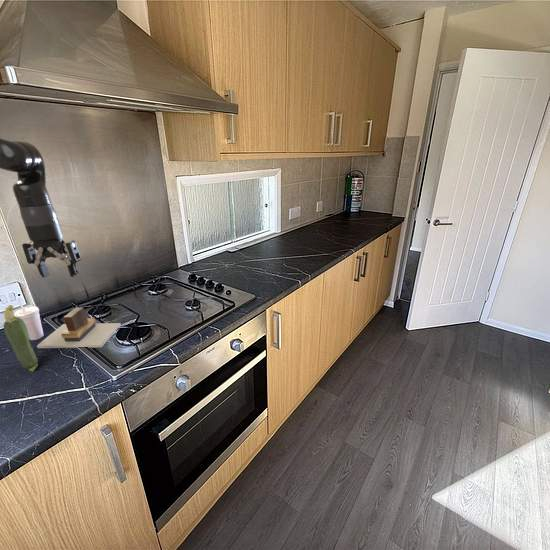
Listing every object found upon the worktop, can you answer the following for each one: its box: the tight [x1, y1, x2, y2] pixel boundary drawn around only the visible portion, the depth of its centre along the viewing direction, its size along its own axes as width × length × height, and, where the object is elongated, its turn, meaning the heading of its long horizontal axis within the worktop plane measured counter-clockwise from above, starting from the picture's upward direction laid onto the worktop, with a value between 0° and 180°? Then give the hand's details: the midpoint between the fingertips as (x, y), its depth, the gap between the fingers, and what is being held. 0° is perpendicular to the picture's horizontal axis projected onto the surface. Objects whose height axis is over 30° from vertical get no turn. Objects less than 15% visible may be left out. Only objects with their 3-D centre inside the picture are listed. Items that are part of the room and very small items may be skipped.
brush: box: [61, 306, 96, 342], centre depth 93 cm, size 9×5×8 cm, turn 179°
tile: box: [36, 322, 122, 349], centre depth 94 cm, size 20×12×1 cm, turn 89°
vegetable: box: [3, 304, 39, 372], centre depth 77 cm, size 4×4×20 cm
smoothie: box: [13, 298, 45, 341], centre depth 92 cm, size 6×6×14 cm
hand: (60, 276), depth 86 cm, fingers open, 8 cm apart
